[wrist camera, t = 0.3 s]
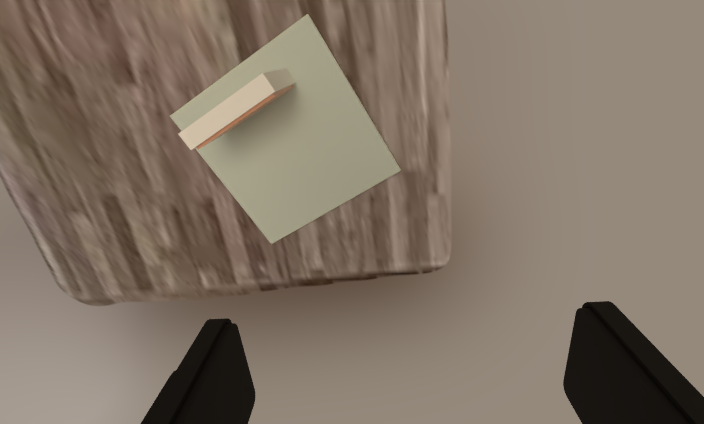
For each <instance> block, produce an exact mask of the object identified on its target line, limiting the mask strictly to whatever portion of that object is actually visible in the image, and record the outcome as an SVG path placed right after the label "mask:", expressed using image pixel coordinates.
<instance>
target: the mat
mask: <svg viewBox="0 0 704 424" xmlns="http://www.w3.org/2000/svg"><path fill="white" fill-rule="evenodd" d="M284 68H287V69H288V70H289V72H290V73H291V75H292V77H293V78H294V80H295V81H296V83H295V84H293V86H294V88H292V89H291V90H289V91H288V92H286V93H285V94H283V95H282V96H281V97H279V98H278V99H276V100H275V101H273V102H272V103H270V104H269V105H268V106H266V107H265V108H263V109H262V110H260V111H259V112H257V113H256V114H254V115H253V116H252V117H250V118H249V119H247V120H246V121H244V122H243V123H241V124H240V125H239V126H237V127H236V128H234V129H233V130H231V131H230V132H228V133H226V134H224V135H223V136H221V137H219V138H217V139H216V140H214V141H212V142H210V143H209V144H207V145H205V146H204V147H202V148H200V149H197V148H195V149H196V150H197V151H198V152H199V154H200V155H201V156H202V157H203V159H204V160H205V161H206V162H207V164H208V165H209V166H210V167H211V169H212V170H213V171H214V172H215V174H216V175H217V176H218V178H219V179H220V180H221V181H222V183H223V184H224V185H225V186H226V188H227V189H228V190H229V191H230V193H231V194H232V195H233V196H234V198H235V199H236V200H237V201H238V203H239V204H240V205H241V206H242V208H243V209H244V210H245V211H246V213H247V214H248V215H249V217H250V218H251V219H252V220H253V222H254V223H255V224H256V225H257V227H258V228H259V229H260V230H261V232H262V233H263V234H264V235H265V237H266V238H267V239H268V240H269V242H270V243H271V244H273V243H274V242H276V241H278V240H280V239H281V238H283V237H285V236H287V235H288V234H290V233H292V232H294V231H295V230H297V229H299V228H301V227H302V226H304V225H306V224H308V223H310V222H311V221H313V220H315V219H317V218H318V217H320V216H322V215H324V214H325V213H327V212H329V211H331V210H332V209H334V208H336V207H338V206H339V205H341V204H343V203H345V202H346V201H348V200H350V199H352V198H353V197H355V196H357V195H359V194H361V193H362V192H364V191H366V190H368V189H369V188H371V187H373V186H375V185H376V184H378V183H380V182H382V181H383V180H385V179H387V178H389V177H390V176H392V175H394V174H396V173H397V172H399V171H401V169H400V167H399V165H398V164H397V162H396V160H395V159H394V157H393V155H392V154H391V152H390V150H389V148H388V147H387V145H386V143H385V142H384V140H383V138H382V137H381V135H380V133H379V132H378V130H377V128H376V127H375V125H374V123H373V122H372V120H371V118H370V117H369V115H368V113H367V112H366V110H365V108H364V106H363V105H362V103H361V101H360V100H359V98H358V96H357V95H356V93H355V91H354V90H353V88H352V86H351V85H350V83H349V81H348V80H347V78H346V76H345V75H344V73H343V71H342V70H341V68H340V66H339V64H338V63H337V61H336V59H335V58H334V56H333V54H332V53H331V51H330V49H329V48H328V46H327V44H326V43H325V41H324V39H323V38H322V36H321V34H320V33H319V31H318V29H317V28H316V26H315V24H314V22H313V21H312V19H311V17H310V16H309V14H307V15H305V16H304V17H303V18H301V19H300V20H299V21H297V22H296V23H294V24H293V25H292V26H290V27H289V28H288V29H286V30H285V31H284V32H282V33H281V34H280V35H278V36H277V37H276V38H274V39H273V40H272V41H270V42H269V43H268V44H266V45H265V46H264V47H262V48H261V49H260V50H258V51H257V52H255V53H254V54H253V55H251V56H250V57H249V58H247V59H246V60H245V61H243V62H242V63H241V64H239V65H238V66H237V67H235V68H234V69H233V70H231V71H230V72H229V73H227V74H226V75H225V76H223V77H222V78H220V79H219V80H218V81H216V82H215V83H214V84H212V85H211V86H210V87H208V88H207V89H206V90H204V91H203V92H202V93H200V94H199V95H198V96H196V97H195V98H194V99H192V100H191V101H190V102H188V103H187V104H185V105H184V106H183V107H181V108H180V109H179V110H177V111H176V112H175V113H173V114H172V115H171V116H170V117H171V118H172V120H173V121H174V122H175V123H176V125H177V126H178V127H179V128H180V130H181V131H183V130H184V129H186V128H187V127H188V126H190V125H191V124H192V123H194V122H195V121H197V120H198V119H199V118H201V117H202V116H204V115H205V114H206V113H208V112H209V111H210V110H212V109H213V108H215V107H216V106H217V105H219V104H220V103H222V102H223V101H224V100H226V99H227V98H229V97H230V96H231V95H233V94H234V93H235V92H237V91H238V90H240V89H241V88H242V87H244V86H245V85H247V84H248V83H249V82H251V81H252V80H253V79H255V78H256V77H258V76H259V75H260V74H262V73H264V72H269V71H274V70H279V69H284Z"/></svg>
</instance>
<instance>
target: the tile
mask: <svg viewBox="0 0 704 424" xmlns="http://www.w3.org/2000/svg"><path fill="white" fill-rule="evenodd" d="M295 83H296V81H295V80H294V78H293V77H292V75H291V73H290V72H289V70H288V69H287V68H284V69H279V70H274V71H269V72H264V73H262V74H260V75H259V76H258V77H256V78H255V79H253V80H252V81H251V82H249V83H248V84H247V85H245V86H244V87H242V88H241V89H240V90H238V91H237V92H235V93H234V94H233V95H231V96H230V97H229V98H227V99H226V100H224V101H223V102H222V103H220V104H219V105H217V106H216V107H215V108H213V109H212V110H210V111H209V112H208V113H206V114H205V115H204V116H202V117H201V118H199V119H198V120H197V121H195V122H194V123H192V124H191V125H190V126H188V127H187V128H186V129H184V130H183V131H181V132H180V133H179V134H178V135H179V136H180V137H181V138H182V140H183V141H184V142H185V143H186V145H187V146H188V147H189V148H190V150H192V149H194V148H197V149H200V148H202V147H204V146H205V145H207V144H209V143H210V142H212V141H214V140H216V139H217V138H219V137H221V136H223V135H224V134H226V133H228V132H230V131H231V130H233V129H234V128H236V127H237V126H239V125H240V124H241V123H243V122H244V121H246V120H247V119H249V118H250V117H252V116H253V115H254V114H256V113H257V112H259V111H260V110H262V109H263V108H265V107H266V106H268V105H269V104H270V103H272V102H273V101H275V100H276V99H278V98H279V97H281V96H282V95H283V94H285V93H286V92H288V91H289V90H291V89H292V88H294V86H293V84H295Z"/></svg>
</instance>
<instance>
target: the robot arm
mask: <svg viewBox="0 0 704 424" xmlns="http://www.w3.org/2000/svg"><path fill="white" fill-rule="evenodd" d="M564 390H565V393H566V395H567V397H568V399H569V401H570V403H571V405H572V406H573V408H574V410H575V412H576V413H577V415H578V417H579V419H580V420H581V422H582V424H704V397H703V396H702V395H701V394H700V393H699V392H698V391H697V390H696V389H695V388H694V387H693V385H691V383H689V381H688V380H687V379H686V378H685V377H684V376H683V375H682V374H681V373H680V372H679V371H678V370H677V369H676V368H675V367H674V366H673V365H672V364H671V363H670V362H669V361H668V360H667V359H666V358H665V357H664V356H663V355H662V353H660V351H659V350H658V349H657V348H656V347H655V346H654V345H653V344H652V343H651V342H650V341H649V340H648V339H647V338H646V337H645V336H644V335H643V334H642V333H641V332H640V331H639V330H638V329H637V328H636V327H635V325H634V324H633V323H631V321H630V320H629V319H628V318H627V317H626V316H625V315H624V314H623V313H622V312H621V311H620V310H619V309H618V308H617V307H616V306H615V305H614V304H613V303H611V302H609V301H606V302H587V303H585V304H584V305H583V306H582V308H579V309H578V310H577V311H576V316H575V322H574V327H573V332H572V338H571V343H570V348H569V354H568V360H567V365H566V370H565V376H564ZM254 402H255V389H254V386H253V382H252V378H251V375H250V371H249V367H248V363H247V360H246V356H245V353H244V349H243V345H242V341H241V338H240V334H239V330H238V327H237V325H236V324H232V323H231V320H230V319H209V320H207V321H206V323H205V324H204V326H203V327H202V329H201V331H200V332H199V334H198V336H197V337H196V339H195V341H194V342H193V344H192V346H191V347H190V349H189V350H188V352H187V354H186V355H185V357H184V359H183V360H182V362H181V364H180V365H179V367H178V369H177V370H176V371H174V372H173V373H172V375H171V376H170V377H169V379H168V380H167V382H166V384H165V386H164V387H163V389H162V390H161V392H160V393H159V395H158V397H157V398H156V400H155V401H154V403H153V405H152V406H151V408H150V409H149V411H148V413H147V414H146V416H145V418H144V419H143V421H142V422H141V424H248V421H249V418H250V415H251V412H252V409H253V406H254Z"/></svg>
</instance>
